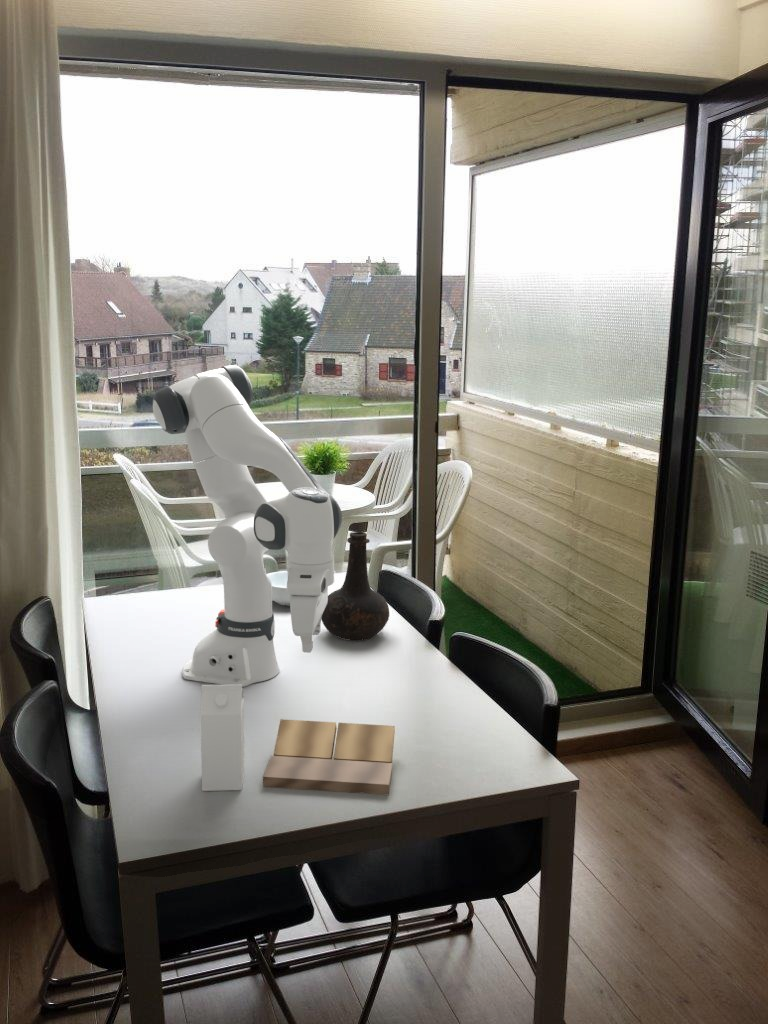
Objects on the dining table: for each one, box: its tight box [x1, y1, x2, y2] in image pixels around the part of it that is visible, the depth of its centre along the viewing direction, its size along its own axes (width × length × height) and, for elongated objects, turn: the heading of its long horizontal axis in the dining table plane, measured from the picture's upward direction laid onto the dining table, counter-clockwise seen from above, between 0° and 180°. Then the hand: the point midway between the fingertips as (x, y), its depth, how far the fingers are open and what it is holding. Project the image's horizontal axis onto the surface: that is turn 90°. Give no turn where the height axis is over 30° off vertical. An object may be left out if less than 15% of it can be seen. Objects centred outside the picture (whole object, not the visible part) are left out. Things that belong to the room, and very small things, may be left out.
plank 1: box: [273, 718, 338, 759], centre depth 180 cm, size 11×8×2 cm
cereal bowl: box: [266, 570, 290, 607], centre depth 272 cm, size 17×17×7 cm
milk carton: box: [199, 684, 245, 792], centre depth 169 cm, size 7×7×19 cm
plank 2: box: [332, 722, 396, 764], centre depth 180 cm, size 11×8×2 cm
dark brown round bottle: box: [321, 531, 390, 642], centre depth 243 cm, size 18×18×28 cm
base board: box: [262, 755, 393, 795], centre depth 172 cm, size 23×8×2 cm, turn 85°
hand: (311, 642), depth 180 cm, fingers open, 8 cm apart
